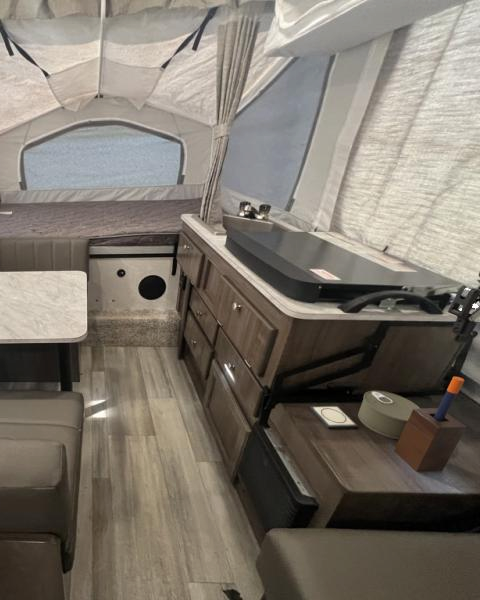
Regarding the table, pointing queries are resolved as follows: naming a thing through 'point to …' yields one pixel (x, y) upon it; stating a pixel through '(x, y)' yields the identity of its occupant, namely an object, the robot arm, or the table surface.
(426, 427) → the pen stand
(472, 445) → the table surface
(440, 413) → the marker
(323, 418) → the drawing pad
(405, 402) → the can
